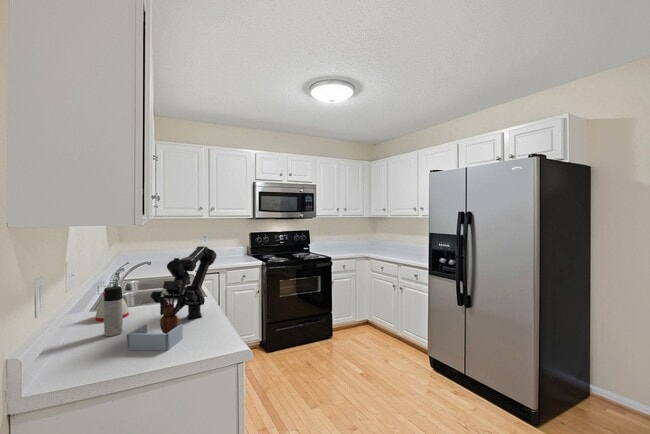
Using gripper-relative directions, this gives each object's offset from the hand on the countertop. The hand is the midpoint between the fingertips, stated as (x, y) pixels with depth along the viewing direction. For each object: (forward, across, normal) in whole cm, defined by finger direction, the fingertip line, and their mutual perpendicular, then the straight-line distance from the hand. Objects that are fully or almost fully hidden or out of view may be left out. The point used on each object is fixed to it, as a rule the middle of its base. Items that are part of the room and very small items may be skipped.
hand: (167, 314), depth 135 cm
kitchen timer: (-11, -42, +24) cm, 50 cm away
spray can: (+5, -25, +8) cm, 27 cm away
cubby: (+12, 0, 0) cm, 12 cm away
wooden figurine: (+5, 0, +7) cm, 8 cm away
